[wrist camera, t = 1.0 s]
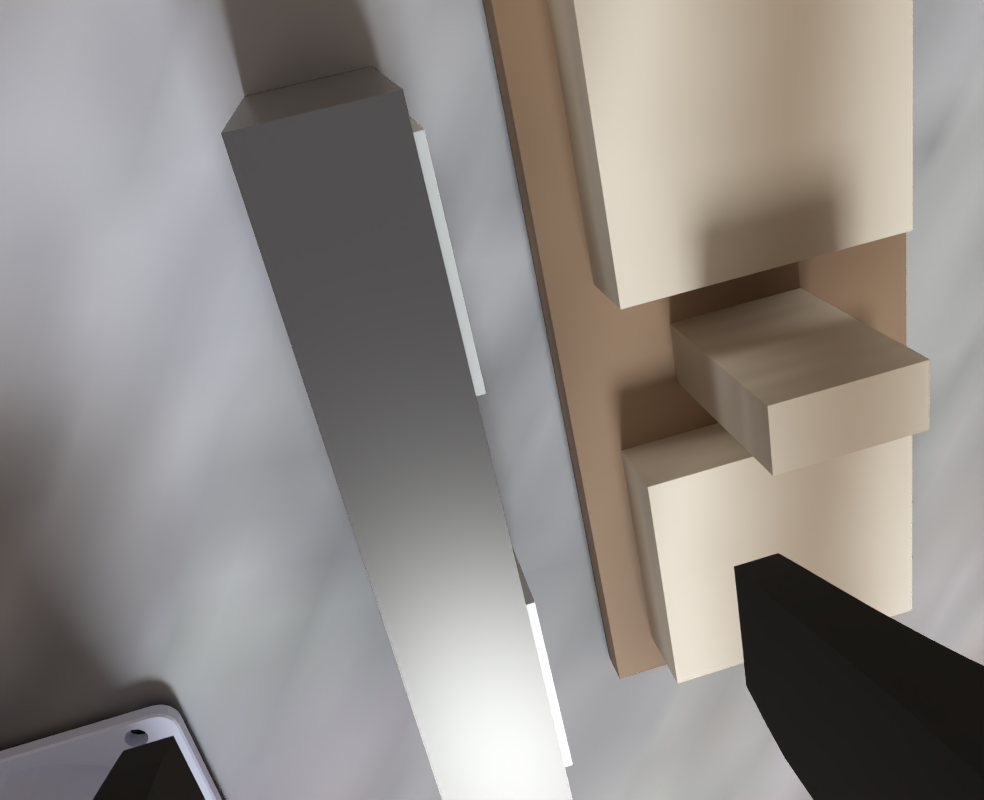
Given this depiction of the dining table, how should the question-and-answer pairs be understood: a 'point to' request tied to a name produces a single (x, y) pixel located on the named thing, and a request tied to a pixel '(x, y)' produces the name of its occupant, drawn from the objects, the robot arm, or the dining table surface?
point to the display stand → (722, 295)
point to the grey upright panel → (403, 418)
